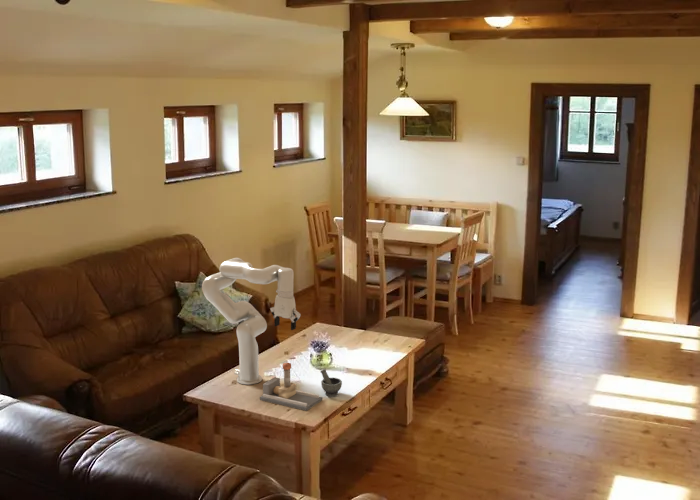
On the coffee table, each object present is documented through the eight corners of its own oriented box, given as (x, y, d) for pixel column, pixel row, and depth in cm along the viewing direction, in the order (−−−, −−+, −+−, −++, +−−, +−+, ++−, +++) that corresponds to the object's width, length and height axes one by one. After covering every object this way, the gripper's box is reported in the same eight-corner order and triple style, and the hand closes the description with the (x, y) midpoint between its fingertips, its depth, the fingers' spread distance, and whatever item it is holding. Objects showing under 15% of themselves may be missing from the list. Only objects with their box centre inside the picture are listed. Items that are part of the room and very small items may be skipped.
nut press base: (260, 400, 375) (259, 385, 373) (276, 389, 387) (276, 375, 385) (306, 410, 362) (306, 395, 361) (322, 400, 374) (321, 385, 373)
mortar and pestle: (345, 393, 382) (345, 370, 379) (333, 400, 374) (333, 376, 372) (327, 388, 388) (326, 365, 386) (315, 394, 381) (315, 371, 378)
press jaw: (278, 398, 372) (278, 366, 369) (289, 391, 380) (288, 360, 376) (285, 400, 370) (285, 368, 367) (296, 393, 378) (295, 361, 375)
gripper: (266, 292, 379) (266, 326, 383) (295, 298, 371) (295, 333, 375) (275, 288, 386) (275, 322, 390) (304, 294, 377) (304, 328, 381)
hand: (285, 327), depth 382 cm, fingers open, 9 cm apart
